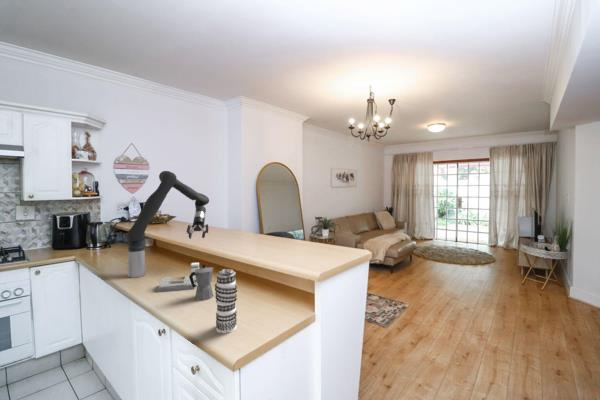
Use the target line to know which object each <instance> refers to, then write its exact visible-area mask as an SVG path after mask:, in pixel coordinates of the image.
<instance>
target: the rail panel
mask: <svg viewBox="0 0 600 400" xmlns="http://www.w3.org/2000/svg"><path fill="white" fill-rule="evenodd" d="M189 276H190V275H185V277H184V279H183V280H174V281H173V278H172V276H167V277H162V278H161V280H159V285H158V287H157V288H156V293H163V292H164V293H165V292H174V291H186V290H187V291H188V290H195V288H196V287H193V286H192V284H191V281H190V278H189ZM193 281H194V285H197V281H196V278H195V277H194V276H193Z"/></svg>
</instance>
